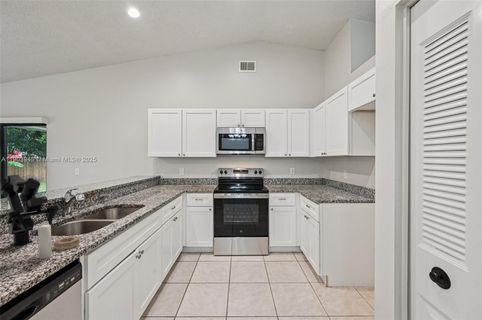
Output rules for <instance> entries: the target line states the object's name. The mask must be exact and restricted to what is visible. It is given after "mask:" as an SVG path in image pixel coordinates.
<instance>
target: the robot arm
mask: <svg viewBox="0 0 482 320" xmlns="http://www.w3.org/2000/svg"><path fill="white" fill-rule="evenodd" d="M40 187H41V182H40V181H38V180H37V179H34V178H33V177H31V178H30V177H29V178H27V179H26V180H25V179H24V178H22V177H21V176H20V174H11V175H9V174H8V175H6V177H5V178H4V179H2V180H1V181H0V192H1V195H2V196H4V197H6V199H7V201H8V205H9V207H10V210H11V211H9V212H8V213H7V216H6V218H5V219H6V220H5V221H6V223H7V224H8V225H9V227H8V234H10V235H12V237H13V242H12V243H10V246H14V247H15V246H18V247H21V246H24V245H26V244H29V243H33V240H30V231H33V230H34V224H35V221H34V219H33V218H32V217H33V216H39V215H44V214H45V215H46V220H47V222H48V225H51V227H52V226H53V217H55V216H56V215H57V214H58V212H59V209H60V207H59V205H58V204H53V205H48V206H47V207H46V209H43V205H44V204H47V203H48V197H47V195H42V196H40V197H37V196H36V195H37V194H38V192H39V189H40Z"/></svg>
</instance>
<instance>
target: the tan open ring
mask: <svg viewBox="0 0 482 320" xmlns="http://www.w3.org/2000/svg"><path fill="white" fill-rule="evenodd" d="M53 243H54V244H53V248H54V249H53V250H59V251H60V250H61V251H62V250H67V249H72V248H76V247H78V246H79V245H80V236H66V237H61V238H59V239H55V240H54V242H53Z"/></svg>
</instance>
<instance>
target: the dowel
mask: <svg viewBox="0 0 482 320" xmlns="http://www.w3.org/2000/svg"><path fill="white" fill-rule="evenodd" d="M37 240H38V241H37V242H38V243H37V244H38V259H39V260H45V259H46V260H47V259H49V258H51V257H52V254H53V253H52V226H51V225H49V224H44V225H43V224H42V225H39V226H38V227H37Z"/></svg>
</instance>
